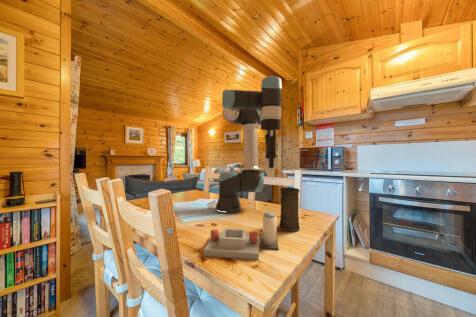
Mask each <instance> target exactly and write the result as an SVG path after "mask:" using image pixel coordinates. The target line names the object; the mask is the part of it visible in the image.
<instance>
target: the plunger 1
mask: <svg viewBox="0 0 476 317" xmlns="http://www.w3.org/2000/svg"><path fill="white" fill-rule="evenodd" d="M219 233H220V232H219V230H218V229H211V230H210V238H211V240H218V235H219Z"/></svg>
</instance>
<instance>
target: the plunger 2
mask: <svg viewBox="0 0 476 317" xmlns="http://www.w3.org/2000/svg"><path fill="white" fill-rule="evenodd" d="M248 234H249V241H250V242H252V243H255V242H257V235H258V232H256V231H250V232H248Z"/></svg>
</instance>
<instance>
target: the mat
mask: <svg viewBox="0 0 476 317" xmlns="http://www.w3.org/2000/svg"><path fill="white" fill-rule="evenodd" d="M260 240H261V241H260V243H261V244H260V245H261V250H272V251H274V250H275V251H279V250H280V249H279V244H278V239H277V237H276V245H273V246H268V245H265V244H263V236H262V237H261V238H260Z"/></svg>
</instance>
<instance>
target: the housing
mask: <svg viewBox="0 0 476 317" xmlns="http://www.w3.org/2000/svg"><path fill="white" fill-rule="evenodd" d="M247 230H248V229H247V228H233V227H232V228H227V227H226V228H225V227H224V228H223V229H222V230H221V231H222V232H219V235H218V240H211V237H209V240H208V242H207V244H206V245H205V247H204V249H203V256H205V257H212V258H213V257H215V258H216V257H217V258H228V259H231V258H233V259H243V260H259V259H260V254H259V252H260V244H259V243H260V240H259V239H260V237H259V234H257V242H255V243H252V242H250V241H249V233H248V232H247ZM247 233H248V234H247Z"/></svg>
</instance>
